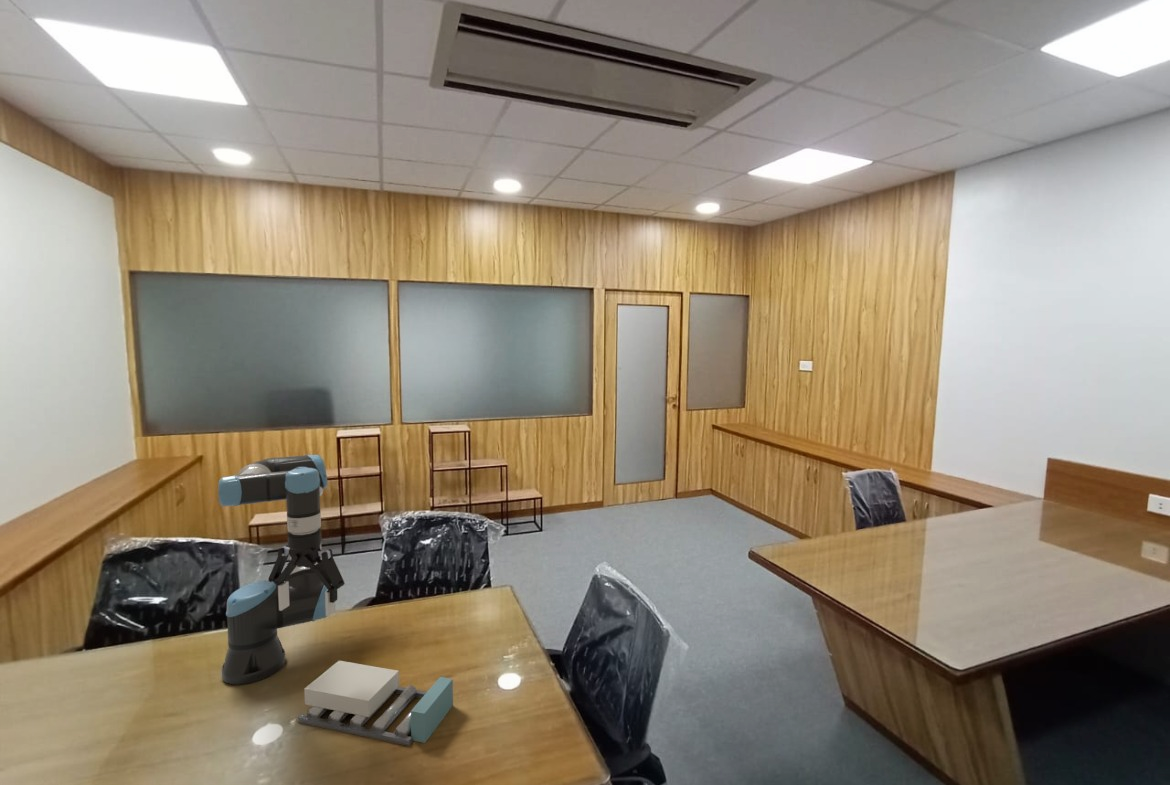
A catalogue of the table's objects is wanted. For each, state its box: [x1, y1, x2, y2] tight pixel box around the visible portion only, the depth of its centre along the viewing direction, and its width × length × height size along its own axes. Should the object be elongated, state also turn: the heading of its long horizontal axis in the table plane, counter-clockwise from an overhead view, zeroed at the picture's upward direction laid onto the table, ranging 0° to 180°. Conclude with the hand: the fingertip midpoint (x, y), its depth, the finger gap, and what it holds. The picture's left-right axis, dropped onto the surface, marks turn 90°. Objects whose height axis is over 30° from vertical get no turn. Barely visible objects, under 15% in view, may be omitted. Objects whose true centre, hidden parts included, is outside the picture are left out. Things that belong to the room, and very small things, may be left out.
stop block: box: [410, 676, 454, 744], centre depth 124 cm, size 4×13×7 cm, turn 166°
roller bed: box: [297, 685, 428, 747], centre depth 128 cm, size 16×30×3 cm, turn 76°
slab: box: [303, 660, 400, 717], centre depth 129 cm, size 18×12×4 cm, turn 76°
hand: (307, 611), depth 132 cm, fingers open, 13 cm apart
